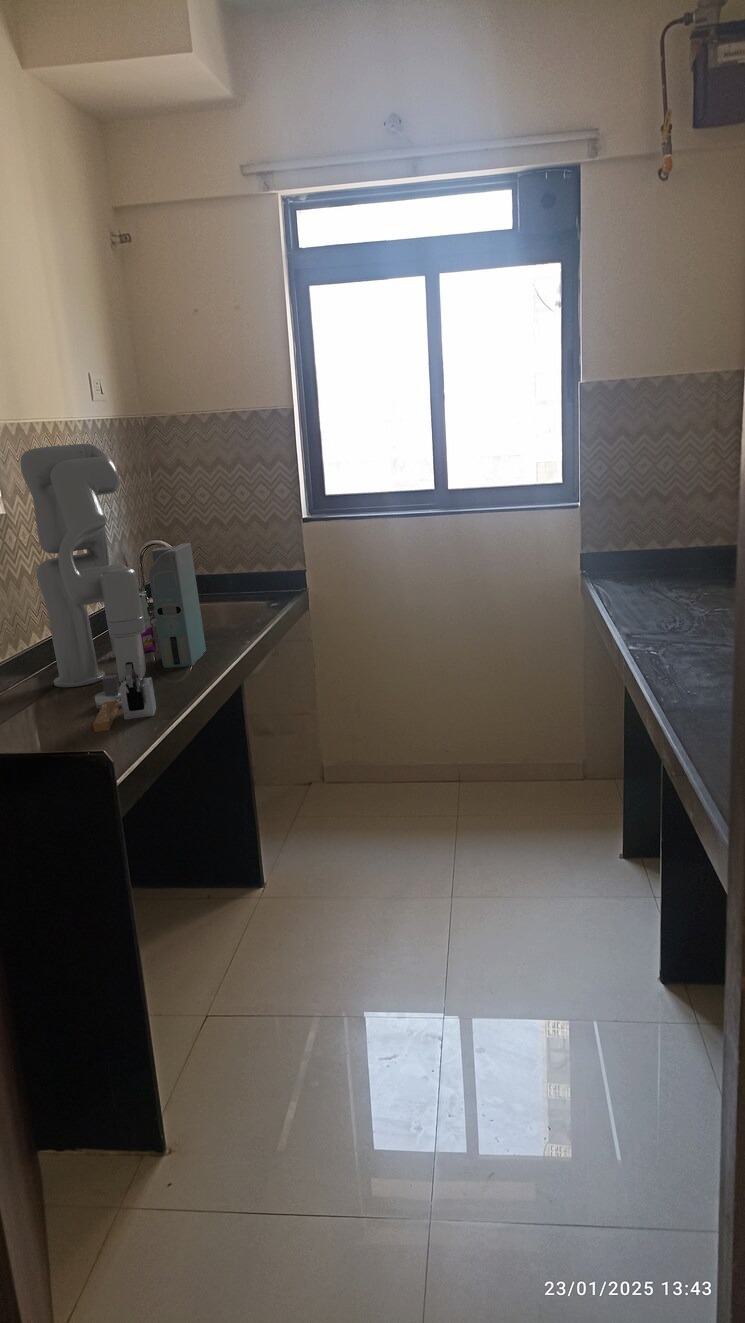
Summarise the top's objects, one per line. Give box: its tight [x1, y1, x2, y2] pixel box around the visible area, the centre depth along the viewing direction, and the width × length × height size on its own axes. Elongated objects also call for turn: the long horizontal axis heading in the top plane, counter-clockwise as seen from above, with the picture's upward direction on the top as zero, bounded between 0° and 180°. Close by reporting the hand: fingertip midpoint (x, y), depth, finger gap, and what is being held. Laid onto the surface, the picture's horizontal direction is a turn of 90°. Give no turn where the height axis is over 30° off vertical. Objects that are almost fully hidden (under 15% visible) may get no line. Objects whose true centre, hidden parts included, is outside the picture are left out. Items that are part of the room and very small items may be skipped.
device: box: [148, 542, 207, 669], centre depth 245 cm, size 16×8×30 cm, turn 177°
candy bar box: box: [109, 592, 157, 659], centre depth 259 cm, size 11×5×16 cm, turn 131°
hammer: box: [92, 673, 123, 733], centre depth 203 cm, size 24×8×6 cm, turn 8°
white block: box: [119, 676, 157, 720], centre depth 201 cm, size 6×6×7 cm
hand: (139, 703), depth 201 cm, fingers open, 9 cm apart
